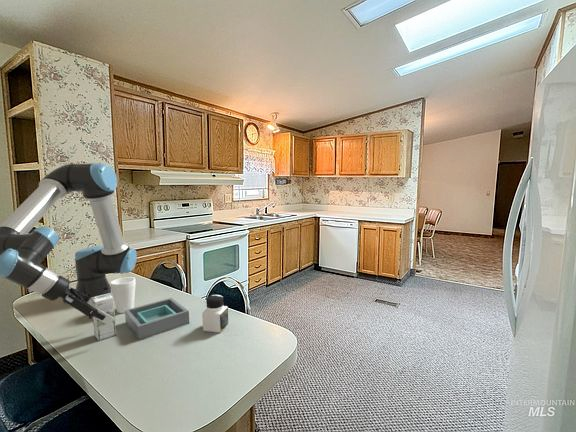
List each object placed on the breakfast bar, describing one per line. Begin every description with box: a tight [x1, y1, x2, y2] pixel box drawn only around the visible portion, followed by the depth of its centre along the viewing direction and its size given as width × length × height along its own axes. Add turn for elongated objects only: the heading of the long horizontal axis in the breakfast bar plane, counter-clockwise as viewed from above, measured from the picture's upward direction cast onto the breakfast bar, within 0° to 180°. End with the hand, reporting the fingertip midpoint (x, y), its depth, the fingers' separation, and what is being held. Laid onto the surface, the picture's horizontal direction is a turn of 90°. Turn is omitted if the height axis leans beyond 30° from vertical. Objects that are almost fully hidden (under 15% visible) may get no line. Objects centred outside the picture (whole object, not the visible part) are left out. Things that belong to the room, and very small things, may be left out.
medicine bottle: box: [201, 294, 229, 334], centre depth 111 cm, size 7×7×12 cm
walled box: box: [124, 297, 190, 341], centre depth 116 cm, size 18×18×5 cm
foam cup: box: [109, 276, 137, 314], centre depth 128 cm, size 10×9×13 cm
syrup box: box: [91, 293, 117, 342], centre depth 106 cm, size 6×6×14 cm
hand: (107, 315), depth 107 cm, fingers open, 13 cm apart
